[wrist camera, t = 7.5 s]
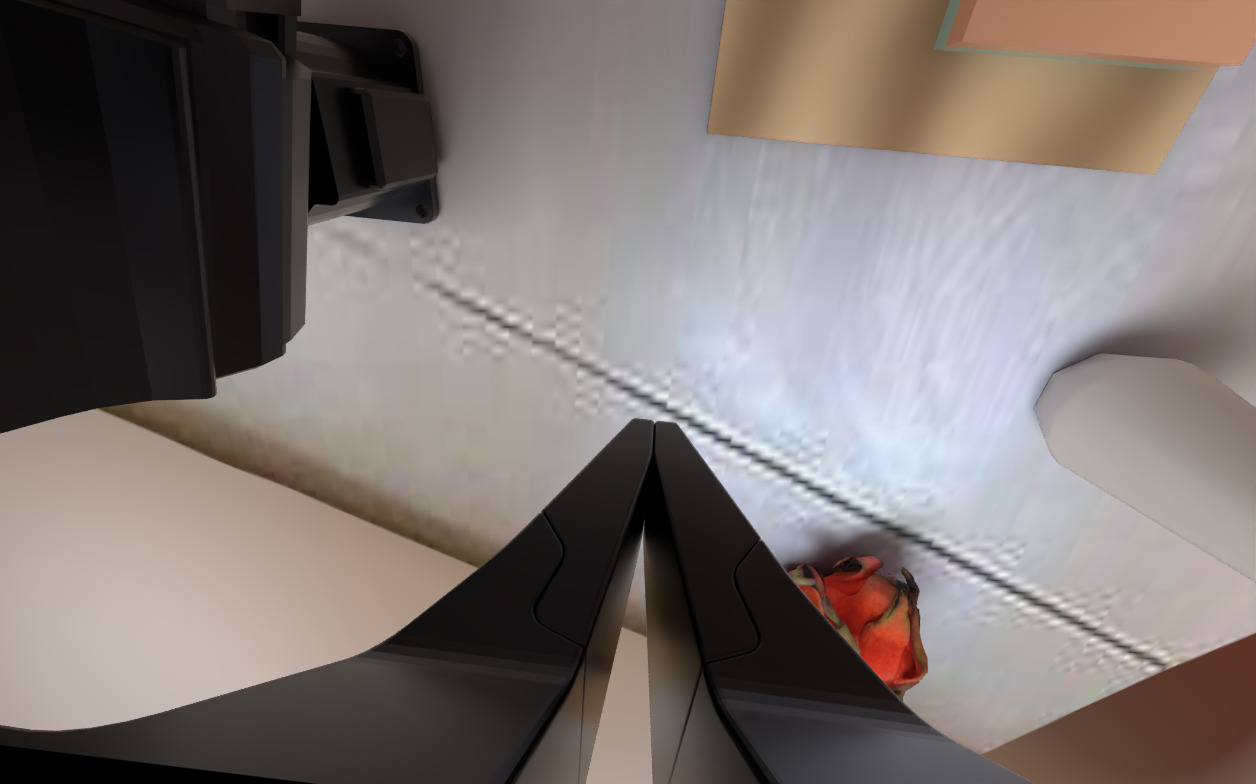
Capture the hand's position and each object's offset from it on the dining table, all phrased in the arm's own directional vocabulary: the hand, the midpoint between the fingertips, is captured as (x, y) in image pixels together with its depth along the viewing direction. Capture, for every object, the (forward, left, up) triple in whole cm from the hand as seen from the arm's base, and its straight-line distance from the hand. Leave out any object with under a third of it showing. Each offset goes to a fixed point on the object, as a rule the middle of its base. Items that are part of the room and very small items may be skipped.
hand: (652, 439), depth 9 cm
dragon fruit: (+12, -19, -13) cm, 26 cm away
